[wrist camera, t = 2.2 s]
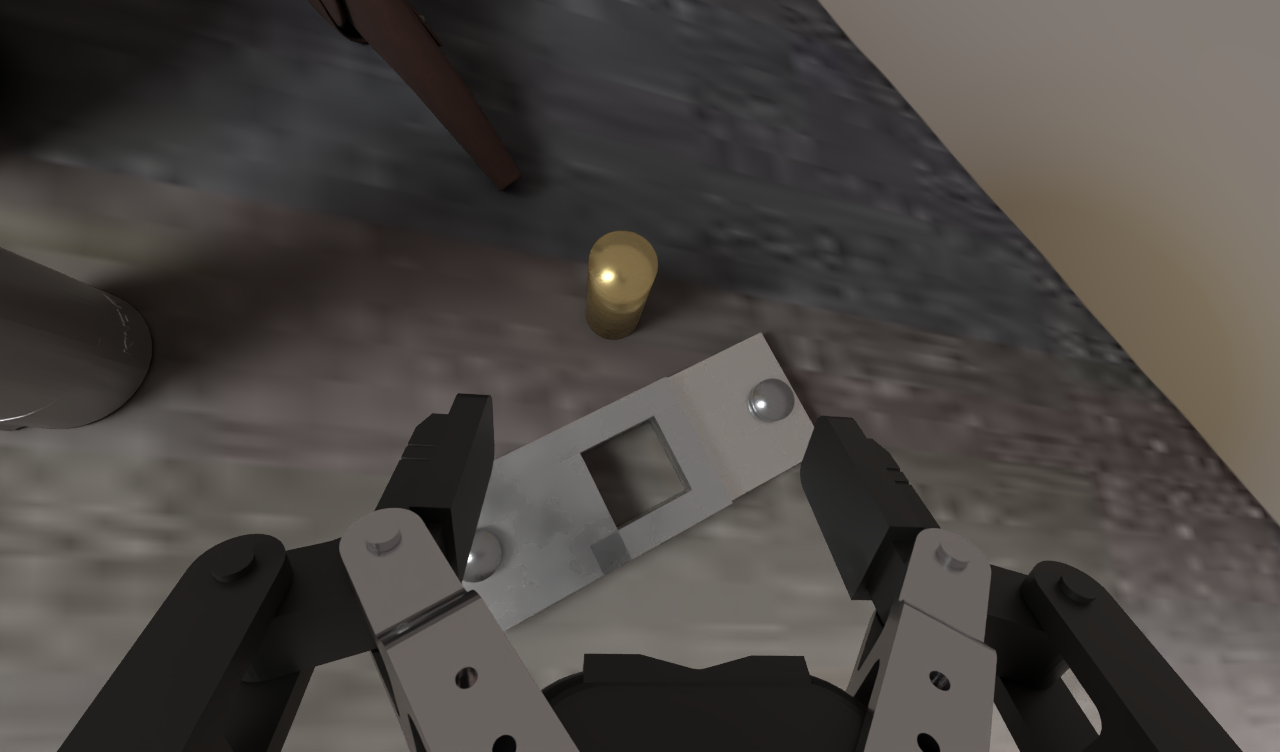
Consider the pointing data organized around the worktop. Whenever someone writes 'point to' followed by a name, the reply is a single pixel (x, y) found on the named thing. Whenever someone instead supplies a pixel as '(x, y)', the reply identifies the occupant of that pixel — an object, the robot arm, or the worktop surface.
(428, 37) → the holster
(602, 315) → the pin
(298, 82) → the worktop surface
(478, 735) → the robot arm
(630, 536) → the grey metal plate
